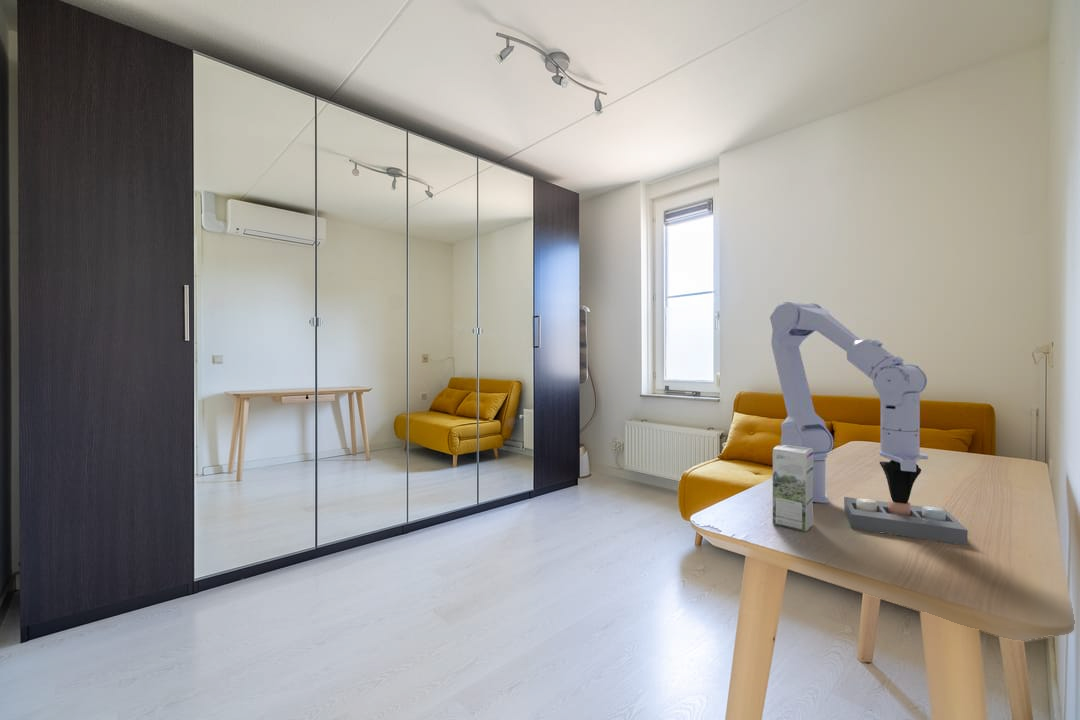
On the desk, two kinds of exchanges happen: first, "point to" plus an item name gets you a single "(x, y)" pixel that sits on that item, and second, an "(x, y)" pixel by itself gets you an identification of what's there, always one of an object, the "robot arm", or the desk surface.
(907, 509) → the terracotta key
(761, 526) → the desk surface
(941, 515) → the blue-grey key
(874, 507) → the ivory key
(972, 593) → the desk surface
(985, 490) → the desk surface
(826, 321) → the robot arm
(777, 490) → the syrup box
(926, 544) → the desk surface
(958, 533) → the grey compartment tray
